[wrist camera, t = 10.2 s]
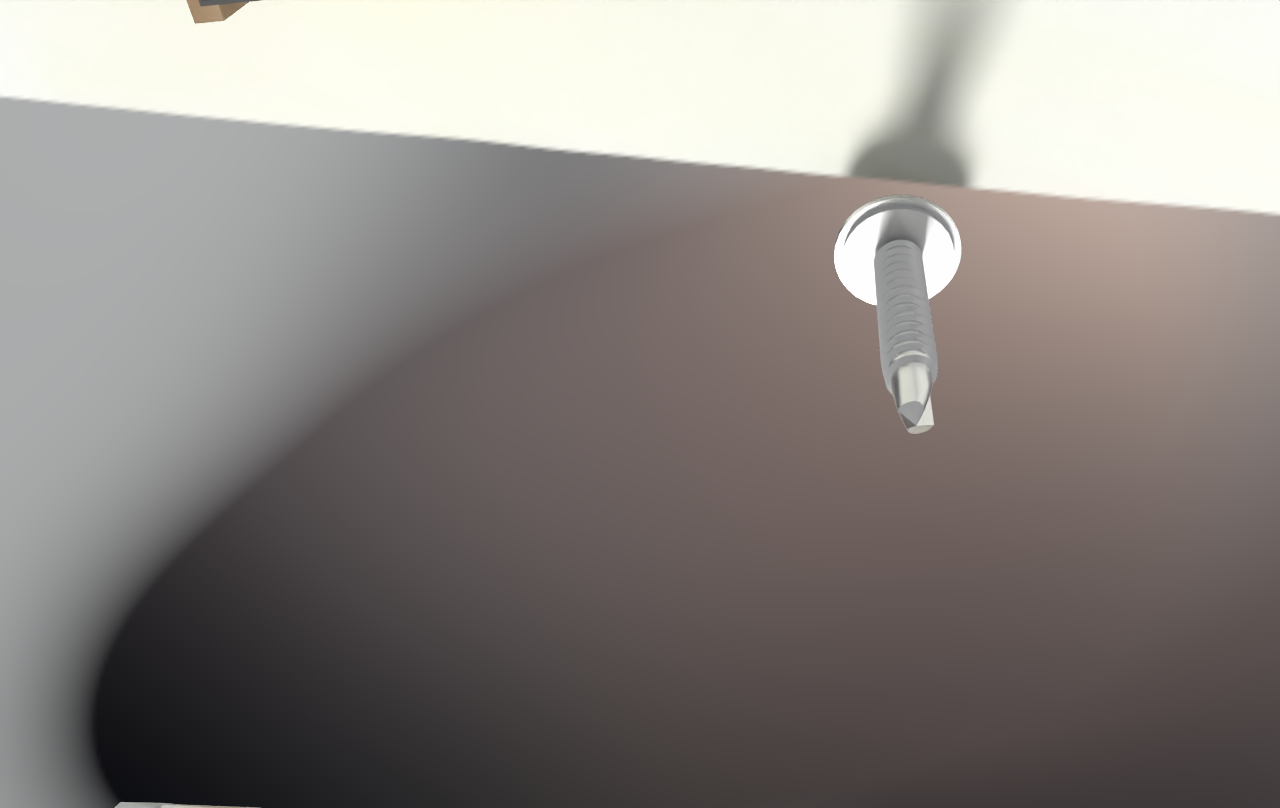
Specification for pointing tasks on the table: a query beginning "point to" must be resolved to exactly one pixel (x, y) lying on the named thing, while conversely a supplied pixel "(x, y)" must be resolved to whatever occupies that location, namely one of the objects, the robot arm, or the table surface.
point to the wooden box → (212, 11)
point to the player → (220, 2)
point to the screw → (901, 289)
